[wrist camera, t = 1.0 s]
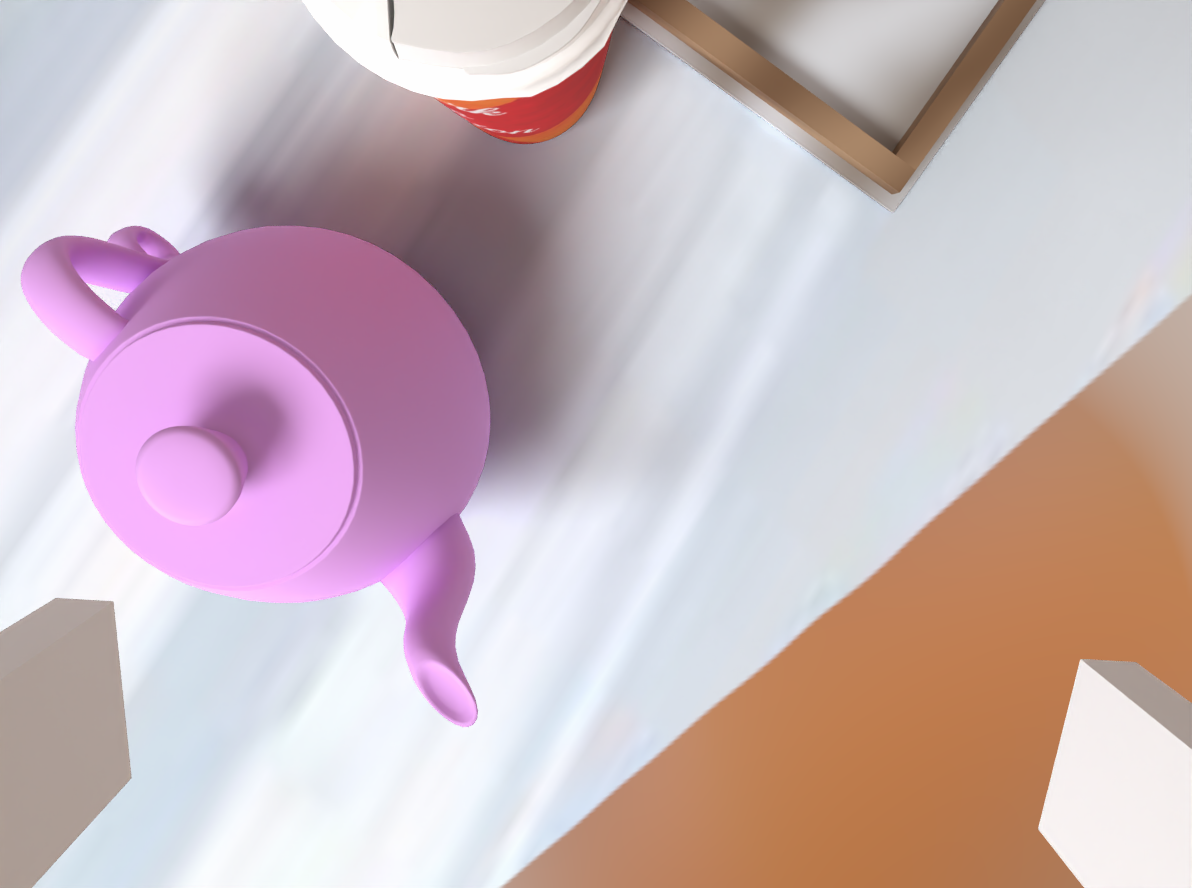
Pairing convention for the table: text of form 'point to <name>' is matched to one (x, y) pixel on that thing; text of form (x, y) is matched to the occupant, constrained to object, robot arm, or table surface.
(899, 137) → the wooden picture frame
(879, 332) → the table surface
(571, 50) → the coffee cup
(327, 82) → the table surface
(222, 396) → the teapot
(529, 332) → the table surface
